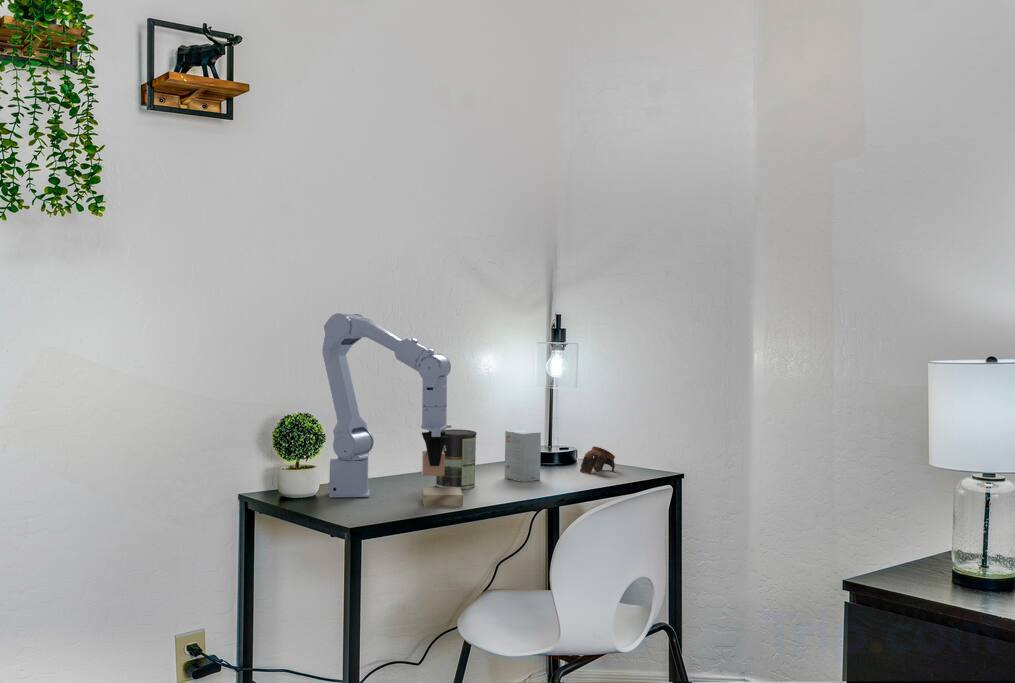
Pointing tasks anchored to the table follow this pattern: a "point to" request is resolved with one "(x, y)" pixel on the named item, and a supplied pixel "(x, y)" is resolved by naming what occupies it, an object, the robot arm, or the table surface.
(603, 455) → the brown arch
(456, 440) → the coffee can
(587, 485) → the table surface
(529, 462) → the small box
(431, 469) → the terracotta cube
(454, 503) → the oak block
